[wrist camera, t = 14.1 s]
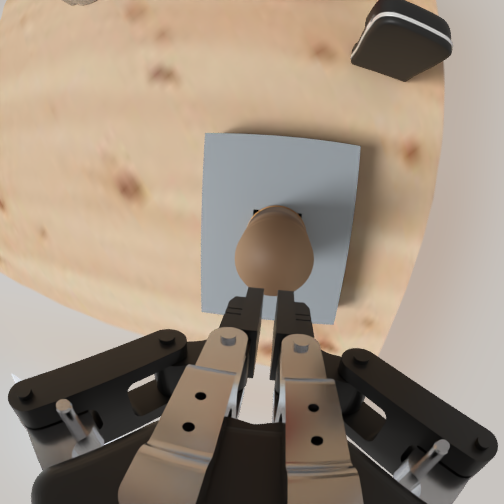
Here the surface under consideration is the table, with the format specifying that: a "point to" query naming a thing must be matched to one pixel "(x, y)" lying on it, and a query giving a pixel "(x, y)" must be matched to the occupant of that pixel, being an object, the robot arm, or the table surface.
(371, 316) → the table surface
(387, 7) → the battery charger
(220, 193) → the board
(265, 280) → the peg
